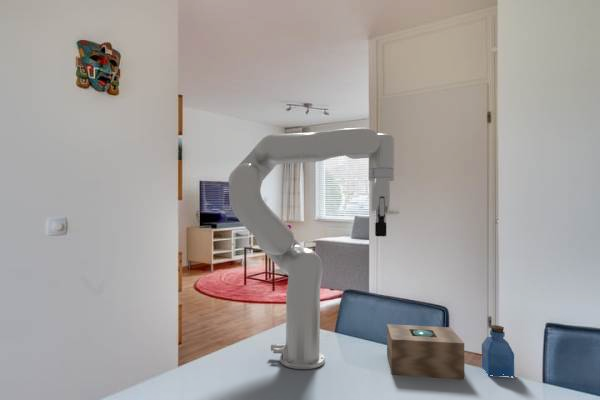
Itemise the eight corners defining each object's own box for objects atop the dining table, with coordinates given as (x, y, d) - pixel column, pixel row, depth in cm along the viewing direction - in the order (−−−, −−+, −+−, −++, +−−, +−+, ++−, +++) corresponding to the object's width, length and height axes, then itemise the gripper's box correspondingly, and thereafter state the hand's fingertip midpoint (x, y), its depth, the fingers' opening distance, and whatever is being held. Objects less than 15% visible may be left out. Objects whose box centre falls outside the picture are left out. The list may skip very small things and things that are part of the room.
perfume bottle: (514, 378, 99) (513, 331, 99) (488, 376, 100) (487, 329, 100) (506, 369, 105) (506, 324, 105) (482, 367, 106) (481, 322, 106)
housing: (391, 374, 100) (391, 339, 100) (387, 355, 114) (387, 324, 114) (464, 379, 98) (464, 343, 98) (450, 358, 112) (450, 327, 112)
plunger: (414, 368, 104) (414, 335, 104) (411, 361, 109) (411, 329, 109) (434, 369, 103) (434, 336, 103) (430, 362, 108) (430, 330, 108)
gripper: (367, 177, 125) (367, 234, 124) (369, 172, 110) (368, 237, 110) (391, 177, 124) (391, 235, 123) (396, 172, 109) (396, 237, 108)
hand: (380, 236), depth 116 cm, fingers closed
